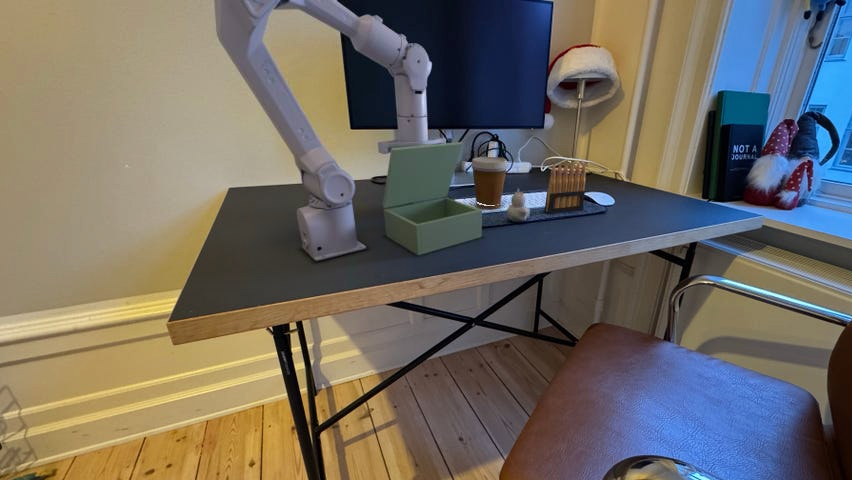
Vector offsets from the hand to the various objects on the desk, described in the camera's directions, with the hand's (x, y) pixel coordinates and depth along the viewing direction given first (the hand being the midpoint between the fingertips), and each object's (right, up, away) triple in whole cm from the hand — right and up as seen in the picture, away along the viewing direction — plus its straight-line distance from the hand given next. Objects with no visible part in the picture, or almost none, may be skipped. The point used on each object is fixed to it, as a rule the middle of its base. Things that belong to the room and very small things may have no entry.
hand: (416, 186), depth 77 cm
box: (+4, -11, 0) cm, 11 cm away
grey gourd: (+22, -6, +10) cm, 25 cm away
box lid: (+2, +1, -3) cm, 4 cm away
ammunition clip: (+35, -2, +18) cm, 40 cm away
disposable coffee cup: (+16, -1, +21) cm, 26 cm away
